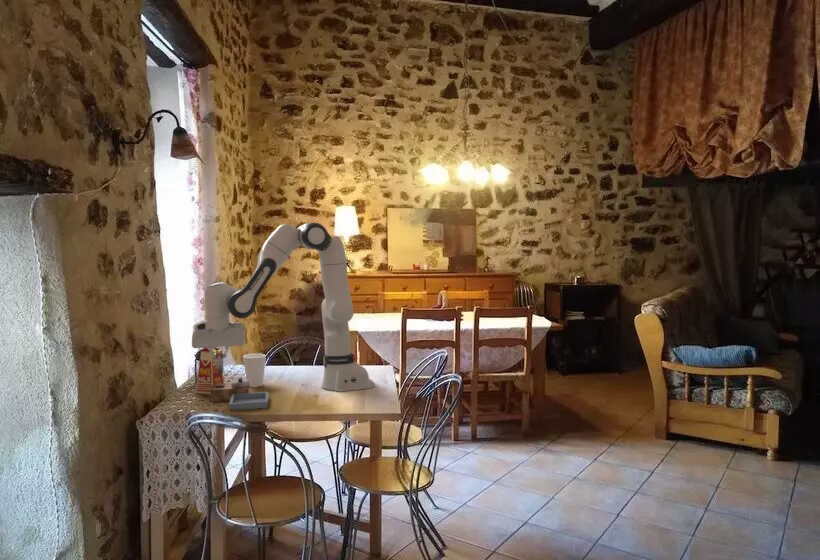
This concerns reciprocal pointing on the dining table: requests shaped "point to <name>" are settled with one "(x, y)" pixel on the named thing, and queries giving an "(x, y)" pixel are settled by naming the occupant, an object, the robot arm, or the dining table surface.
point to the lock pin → (219, 361)
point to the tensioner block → (229, 389)
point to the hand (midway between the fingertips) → (219, 357)
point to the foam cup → (254, 368)
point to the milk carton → (208, 373)
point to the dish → (249, 401)
